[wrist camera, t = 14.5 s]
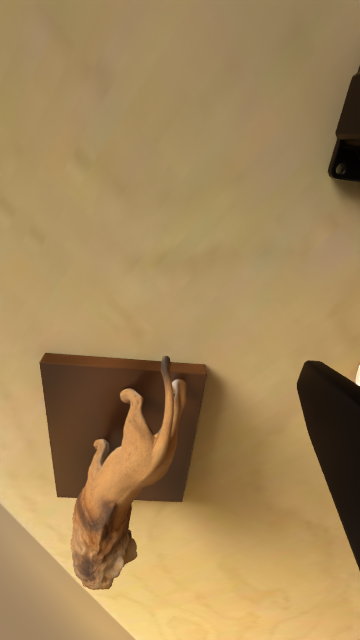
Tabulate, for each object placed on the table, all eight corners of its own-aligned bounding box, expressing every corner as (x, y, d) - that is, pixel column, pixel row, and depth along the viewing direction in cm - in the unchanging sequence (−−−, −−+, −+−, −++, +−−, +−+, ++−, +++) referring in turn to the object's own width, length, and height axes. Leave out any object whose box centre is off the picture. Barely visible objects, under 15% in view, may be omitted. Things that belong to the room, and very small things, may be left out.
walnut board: (205, 364, 24) (207, 374, 23) (181, 490, 32) (182, 502, 31) (44, 352, 24) (39, 362, 22) (60, 485, 31) (56, 497, 30)
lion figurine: (139, 481, 29) (128, 605, 22) (81, 469, 28) (48, 595, 21) (199, 360, 23) (214, 476, 15) (127, 339, 22) (102, 452, 14)
